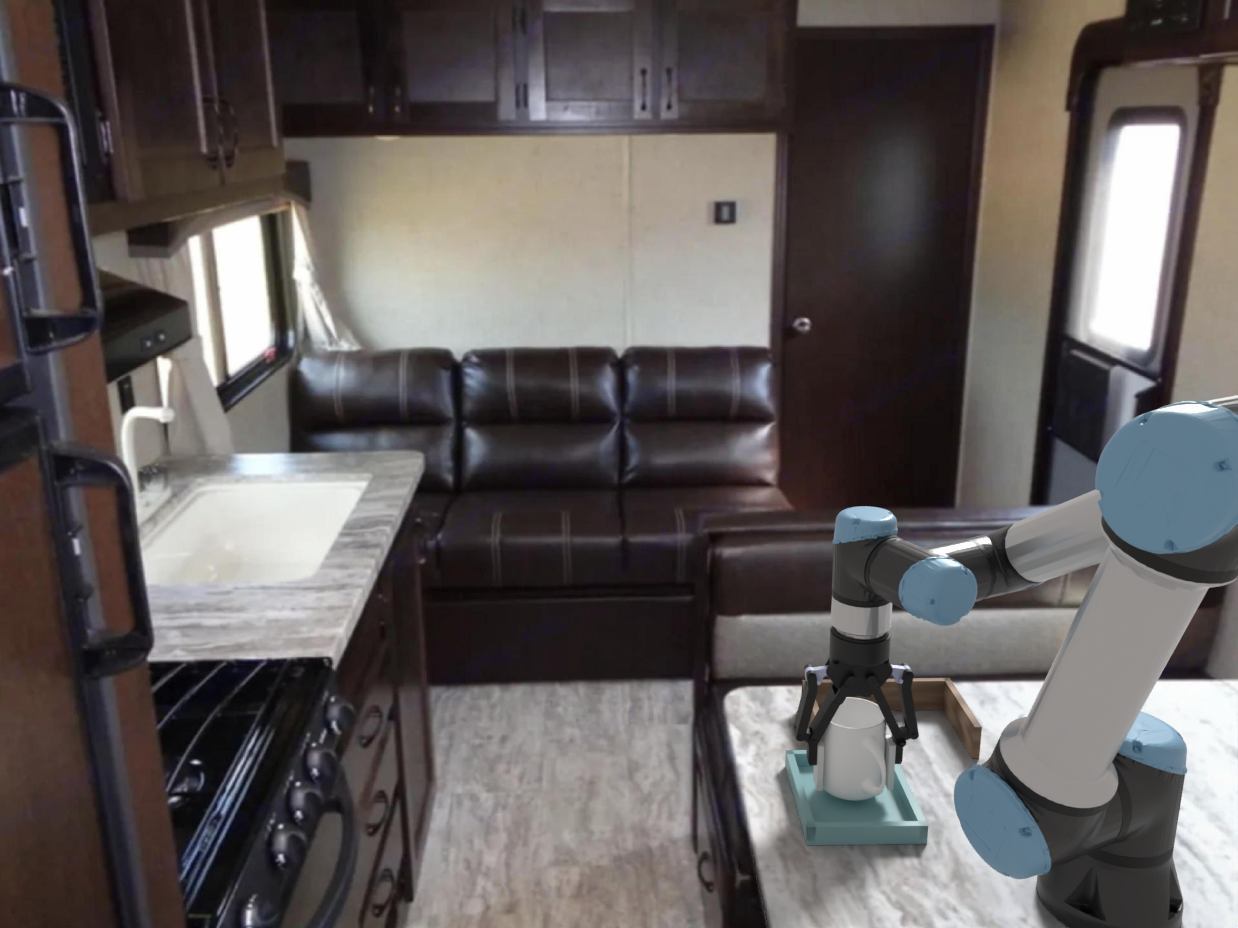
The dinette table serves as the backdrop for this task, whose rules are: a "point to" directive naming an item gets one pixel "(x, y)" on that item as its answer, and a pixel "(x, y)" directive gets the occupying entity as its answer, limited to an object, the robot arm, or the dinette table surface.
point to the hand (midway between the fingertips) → (852, 784)
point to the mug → (855, 751)
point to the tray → (854, 811)
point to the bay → (925, 705)
